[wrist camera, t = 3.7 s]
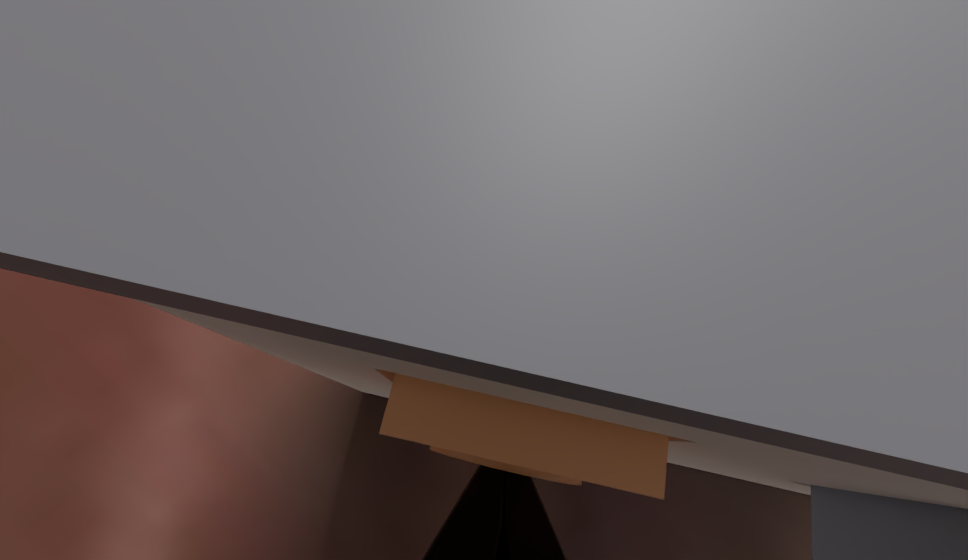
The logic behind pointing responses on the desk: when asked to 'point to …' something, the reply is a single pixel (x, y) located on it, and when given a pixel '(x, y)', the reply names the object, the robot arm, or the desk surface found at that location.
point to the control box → (534, 206)
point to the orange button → (525, 437)
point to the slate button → (884, 528)
